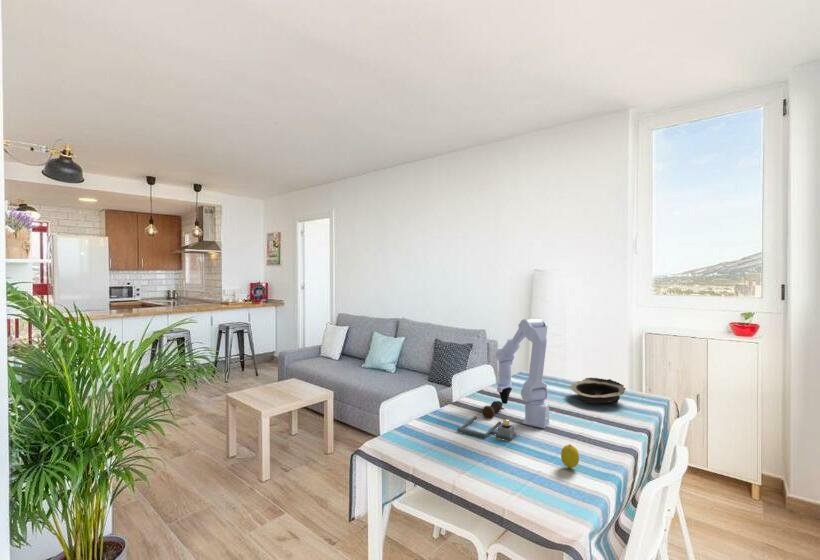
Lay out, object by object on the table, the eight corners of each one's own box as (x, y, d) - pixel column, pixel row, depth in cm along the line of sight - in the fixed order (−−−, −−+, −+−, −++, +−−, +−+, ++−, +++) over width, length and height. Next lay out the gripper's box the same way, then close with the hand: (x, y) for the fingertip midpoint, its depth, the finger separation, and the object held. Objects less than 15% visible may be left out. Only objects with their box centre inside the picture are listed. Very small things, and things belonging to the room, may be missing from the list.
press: (522, 429, 164) (522, 418, 164) (508, 444, 150) (508, 433, 149) (474, 418, 175) (475, 408, 175) (457, 431, 161) (457, 421, 161)
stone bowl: (627, 397, 202) (627, 380, 201) (622, 417, 181) (623, 397, 180) (574, 389, 215) (575, 372, 214) (564, 406, 194) (565, 387, 193)
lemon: (557, 464, 135) (558, 441, 134) (573, 464, 135) (574, 440, 135) (565, 473, 129) (566, 448, 129) (582, 472, 130) (582, 448, 129)
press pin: (510, 426, 156) (510, 419, 156) (508, 428, 154) (508, 421, 154) (504, 425, 158) (504, 418, 158) (502, 427, 156) (502, 420, 156)
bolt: (500, 412, 188) (489, 422, 175) (491, 405, 190) (479, 414, 177) (507, 402, 186) (495, 411, 173) (498, 395, 188) (486, 404, 176)
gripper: (502, 370, 197) (502, 397, 197) (490, 376, 185) (490, 406, 185) (516, 372, 193) (516, 400, 193) (505, 379, 181) (505, 409, 181)
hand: (504, 403), depth 189 cm, fingers closed
